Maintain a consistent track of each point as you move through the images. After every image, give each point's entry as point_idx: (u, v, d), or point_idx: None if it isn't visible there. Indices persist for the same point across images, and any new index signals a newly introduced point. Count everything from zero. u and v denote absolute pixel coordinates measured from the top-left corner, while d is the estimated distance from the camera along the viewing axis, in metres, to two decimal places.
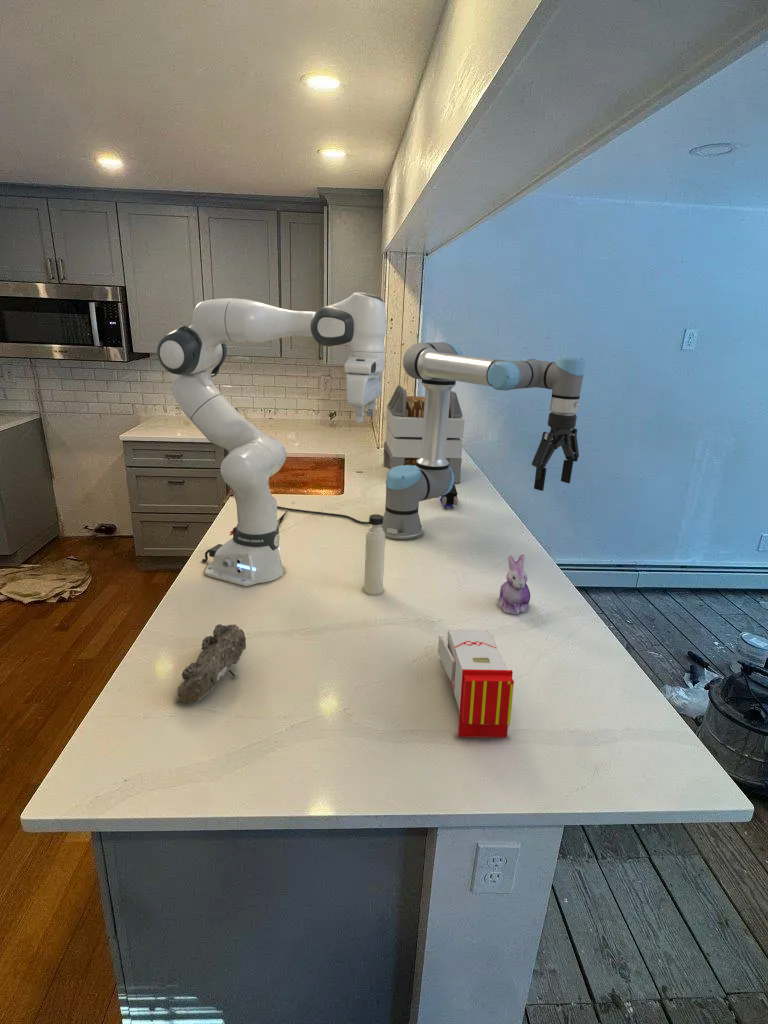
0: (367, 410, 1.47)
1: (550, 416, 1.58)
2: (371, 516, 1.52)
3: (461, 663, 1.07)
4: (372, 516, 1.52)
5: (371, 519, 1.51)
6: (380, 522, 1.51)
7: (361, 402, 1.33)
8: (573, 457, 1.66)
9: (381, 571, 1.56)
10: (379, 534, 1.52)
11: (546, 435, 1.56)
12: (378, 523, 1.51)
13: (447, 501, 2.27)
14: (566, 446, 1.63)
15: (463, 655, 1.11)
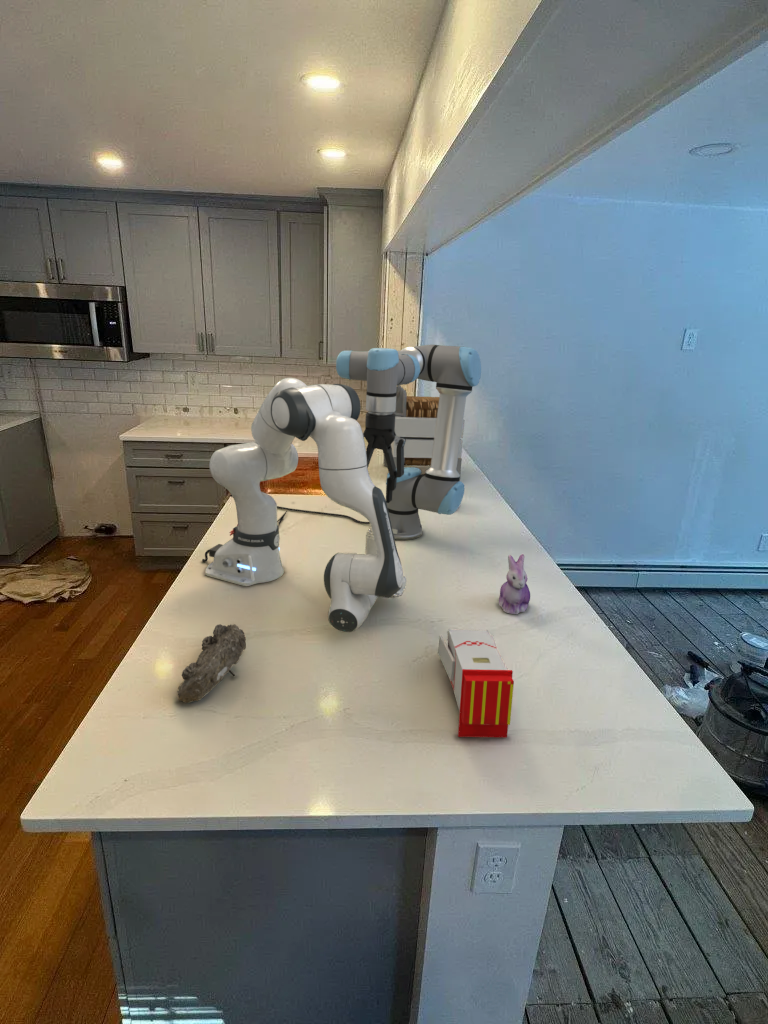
0: None
1: (390, 418, 1.40)
2: None
3: (461, 663, 1.07)
4: None
5: None
6: None
7: None
8: None
9: None
10: None
11: (404, 442, 1.43)
12: None
13: None
14: (373, 450, 1.47)
15: (463, 655, 1.11)
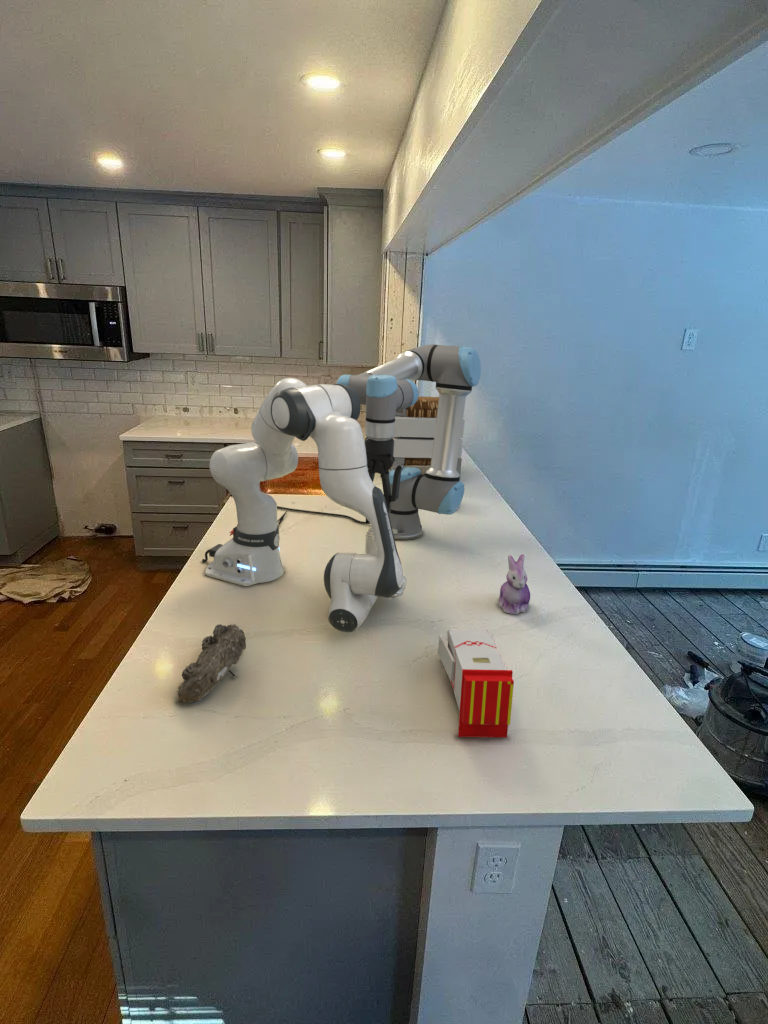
0: None
1: (389, 443, 1.42)
2: None
3: (461, 663, 1.07)
4: None
5: None
6: None
7: None
8: None
9: None
10: None
11: (402, 468, 1.45)
12: None
13: None
14: (373, 475, 1.49)
15: (463, 655, 1.11)
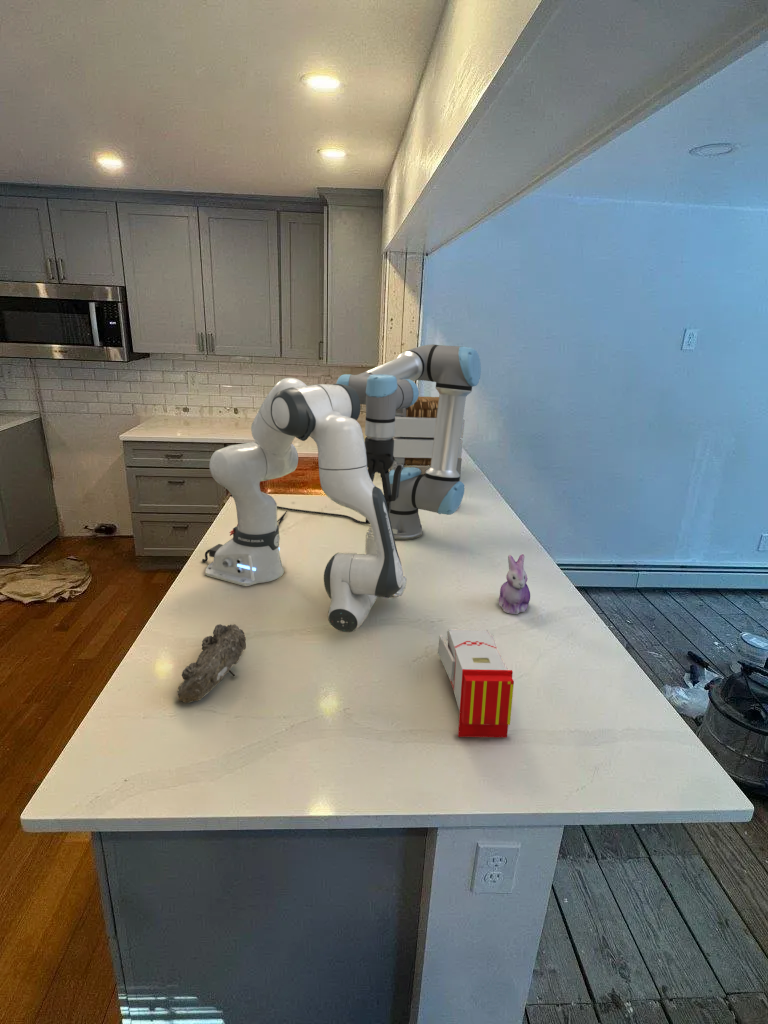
0: None
1: (389, 443, 1.42)
2: None
3: (461, 663, 1.07)
4: None
5: None
6: None
7: None
8: None
9: None
10: None
11: (402, 468, 1.45)
12: None
13: None
14: (373, 474, 1.49)
15: (463, 655, 1.11)
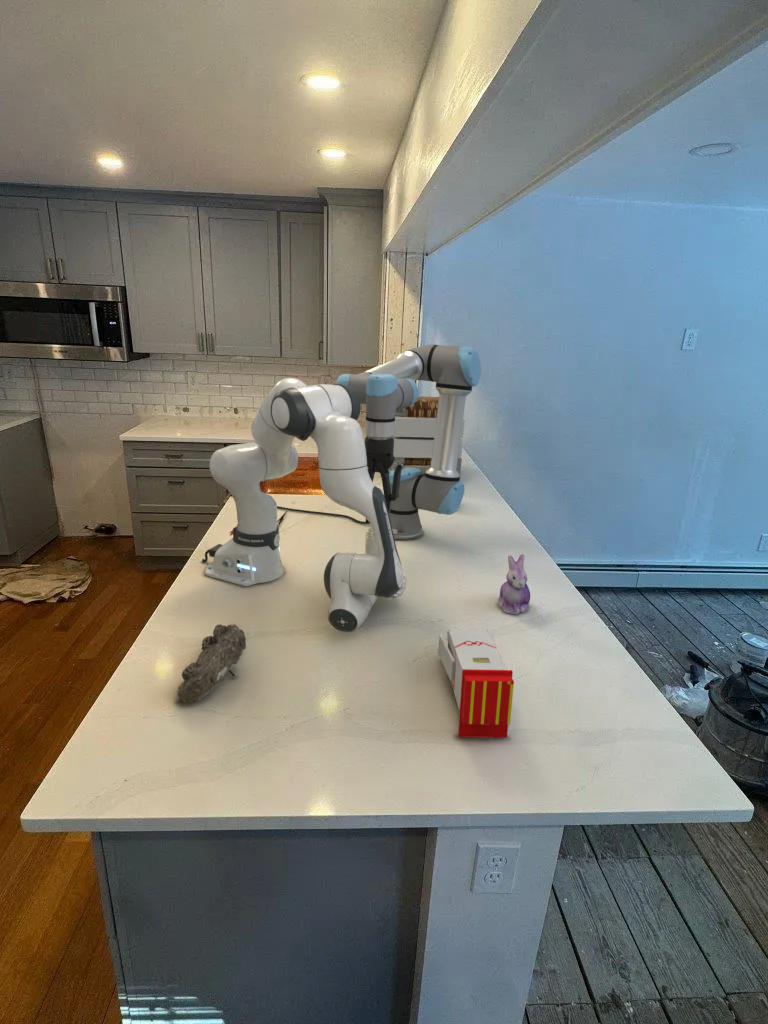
0: None
1: (389, 443, 1.42)
2: None
3: (461, 663, 1.07)
4: None
5: None
6: None
7: None
8: None
9: None
10: None
11: (402, 468, 1.45)
12: None
13: None
14: (373, 474, 1.49)
15: (463, 655, 1.11)
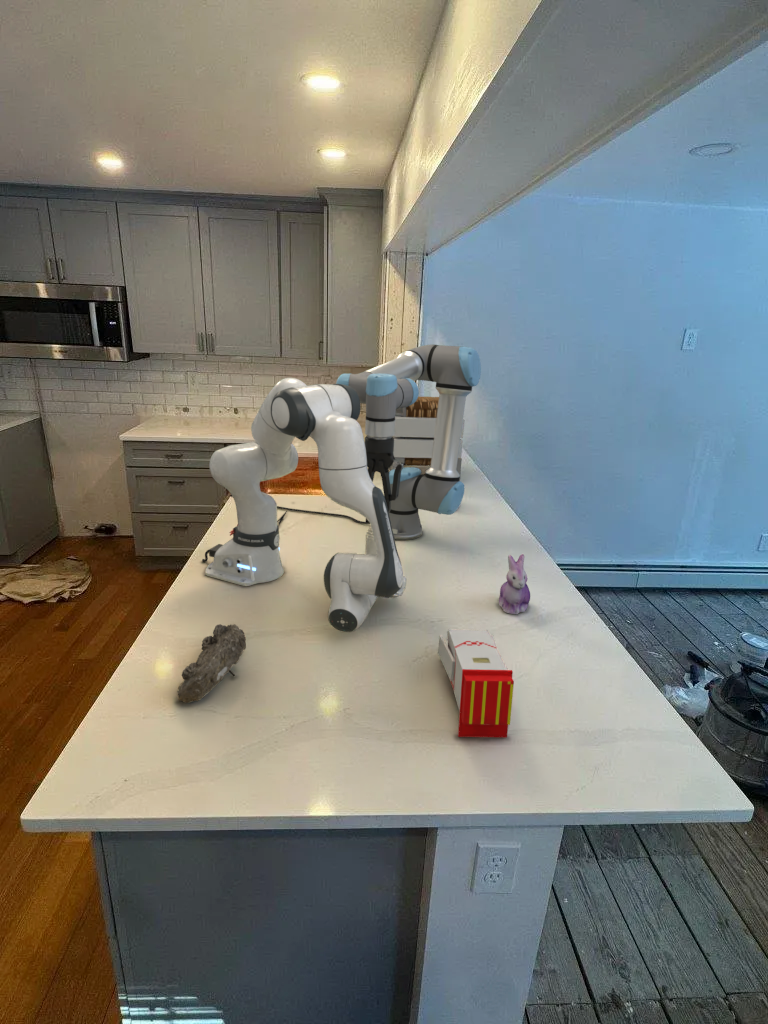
0: None
1: (389, 442, 1.42)
2: None
3: (461, 663, 1.07)
4: None
5: None
6: None
7: None
8: None
9: None
10: None
11: (402, 467, 1.45)
12: None
13: None
14: (373, 474, 1.49)
15: (463, 655, 1.11)
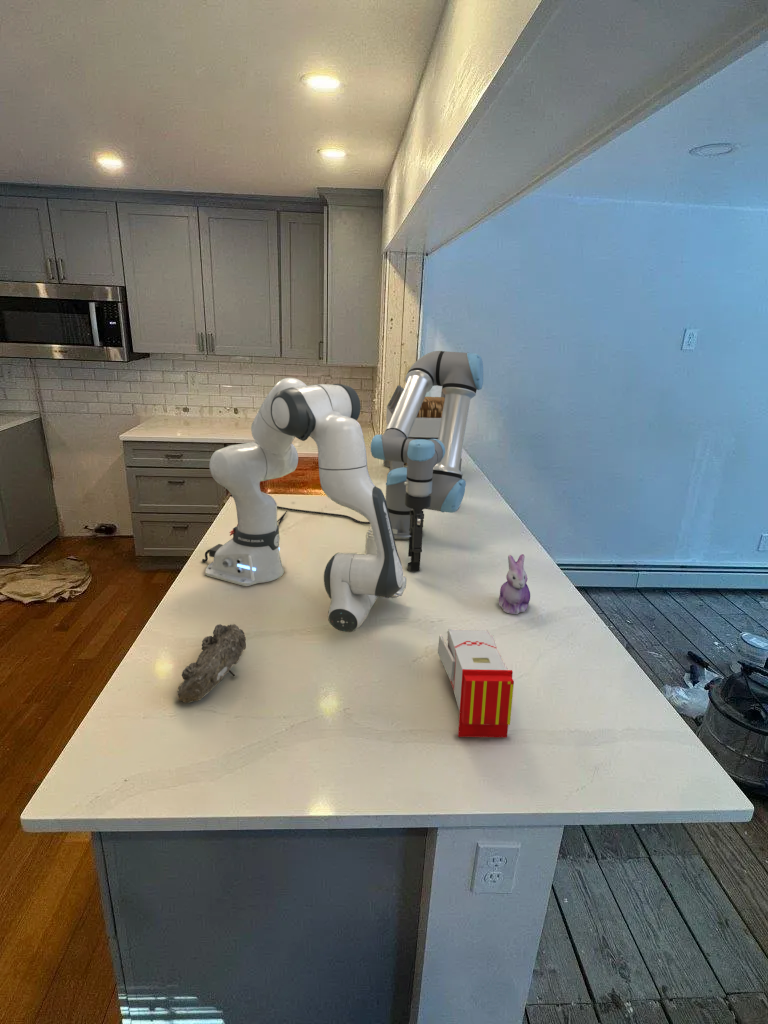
0: None
1: None
2: None
3: (461, 663, 1.07)
4: None
5: None
6: None
7: None
8: (412, 546, 1.65)
9: None
10: None
11: None
12: None
13: None
14: None
15: (463, 655, 1.11)
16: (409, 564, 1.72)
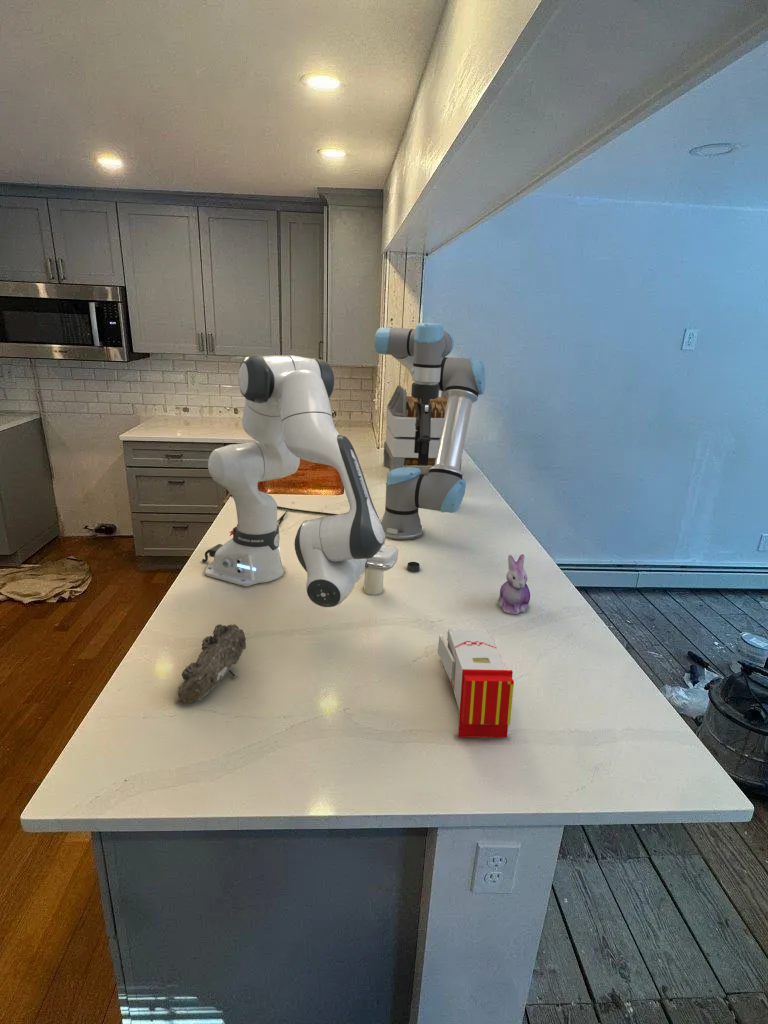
0: None
1: None
2: (413, 566, 1.71)
3: (461, 663, 1.07)
4: (413, 565, 1.72)
5: (417, 567, 1.71)
6: None
7: None
8: (420, 437, 1.52)
9: (381, 571, 1.56)
10: None
11: None
12: None
13: None
14: None
15: (463, 655, 1.11)
16: (409, 564, 1.72)
